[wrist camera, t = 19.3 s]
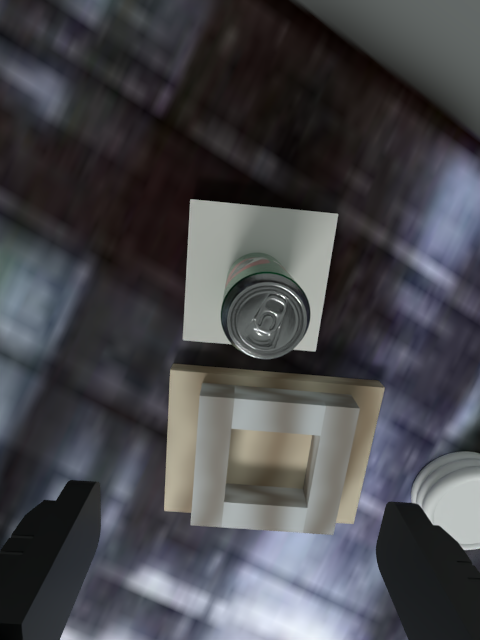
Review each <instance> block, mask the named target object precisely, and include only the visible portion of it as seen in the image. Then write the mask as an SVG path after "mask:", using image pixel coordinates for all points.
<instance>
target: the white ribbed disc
mask: <svg viewBox="0 0 480 640" xmlns="http://www.w3.org/2000/svg"><path fill="white" fill-rule="evenodd" d="M411 501H412V503H416V504H418V505H419V506H420V507H421V508H422V509H423V511H424V512H425V514H426V515H427V517H428V518H429V520H430V521H431V523H432V524H433V525H439V526H440V527H442V528H443V529H444V530H445V531H446V532H447V533H448V534H449V535H450V536H452V537H453V538H454V539H455V540H456V541H457V542H458V543H459V544H460V546H461V547H462V549H463V550H472V549H479V548H480V453H476V452H469V451H461V452H454V453H449V454H446V455H443V456H441V457H439V458H437V459H435V460H433V461H432V462H430V463H429V464H428V465H427V466H425V467H424V468H423V469H422V470H421V472H420V473H419V474H418V476H417V477H416V479H415V481H414V483H413V486H412V490H411Z"/></svg>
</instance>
